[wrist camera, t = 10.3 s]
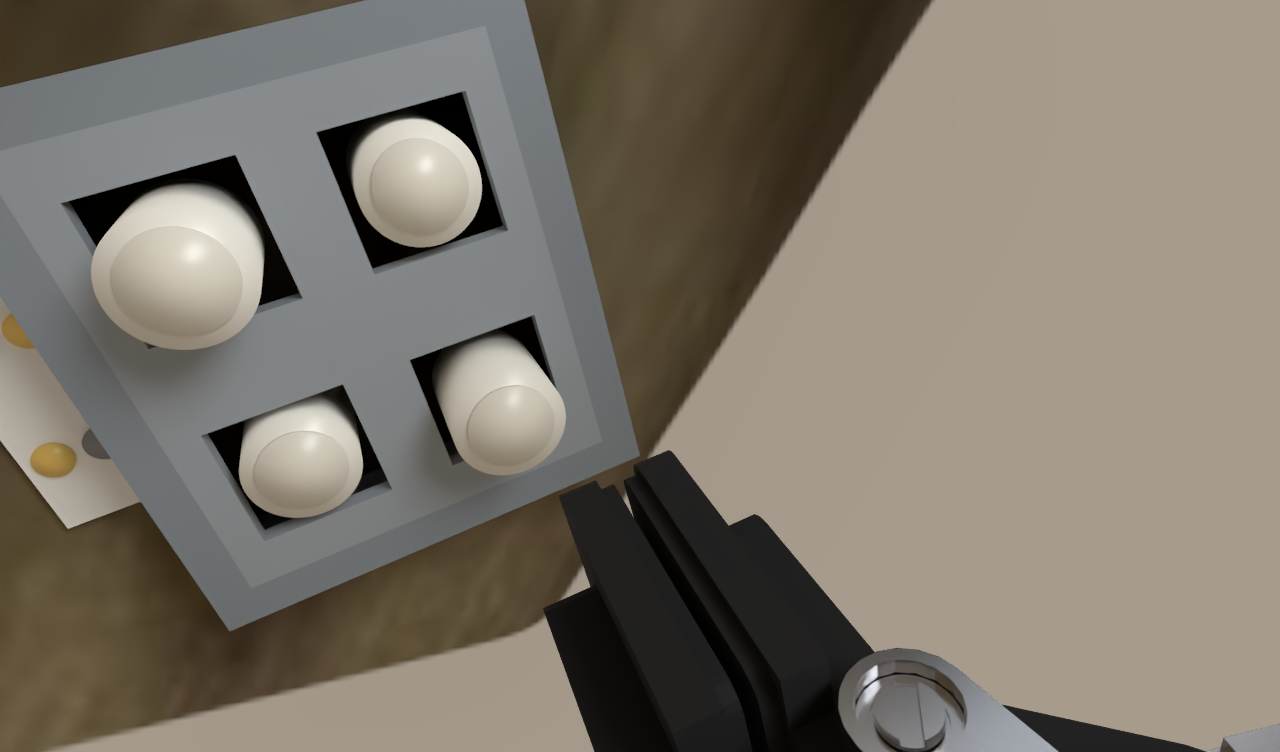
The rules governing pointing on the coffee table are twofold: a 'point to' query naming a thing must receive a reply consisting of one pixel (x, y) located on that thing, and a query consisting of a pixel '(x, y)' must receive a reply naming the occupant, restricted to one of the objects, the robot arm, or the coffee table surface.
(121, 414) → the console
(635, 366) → the coffee table surface
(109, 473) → the card
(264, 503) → the button
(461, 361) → the button
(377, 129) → the button
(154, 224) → the button
